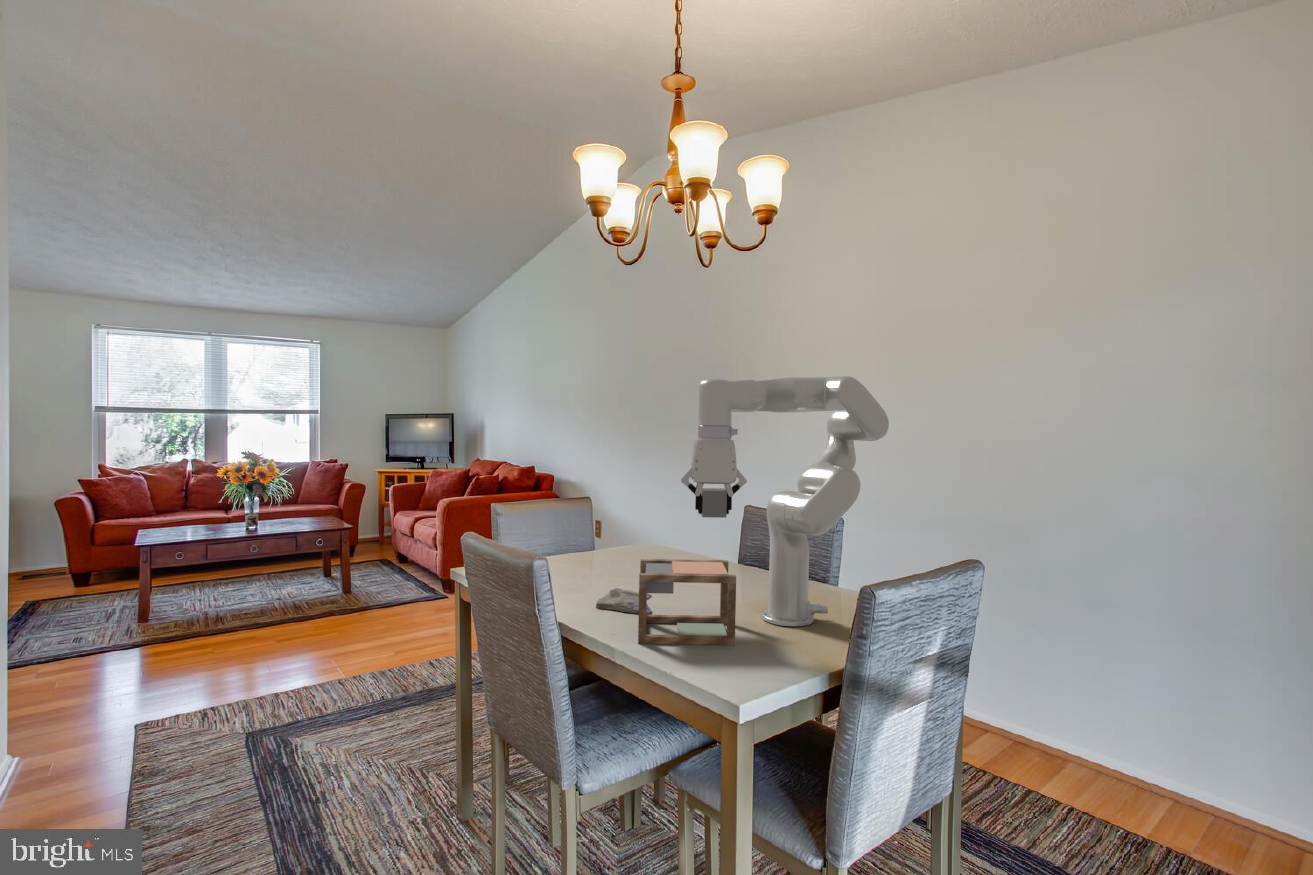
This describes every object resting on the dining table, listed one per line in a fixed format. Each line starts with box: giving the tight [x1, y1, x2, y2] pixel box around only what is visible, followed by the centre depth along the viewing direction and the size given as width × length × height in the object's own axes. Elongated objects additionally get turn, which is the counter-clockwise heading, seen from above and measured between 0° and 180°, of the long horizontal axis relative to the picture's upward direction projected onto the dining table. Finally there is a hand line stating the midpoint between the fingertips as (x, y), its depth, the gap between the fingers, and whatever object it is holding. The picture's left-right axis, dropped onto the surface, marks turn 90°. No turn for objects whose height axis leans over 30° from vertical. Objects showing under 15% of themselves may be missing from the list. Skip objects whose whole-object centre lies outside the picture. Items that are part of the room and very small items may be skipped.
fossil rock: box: [595, 587, 653, 615], centre depth 171 cm, size 18×15×2 cm
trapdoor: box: [646, 561, 729, 595], centre depth 148 cm, size 18×12×4 cm, turn 90°
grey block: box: [700, 487, 728, 519], centre depth 148 cm, size 5×5×6 cm
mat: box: [676, 623, 727, 636], centre depth 149 cm, size 11×11×1 cm
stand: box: [637, 558, 737, 646], centre depth 148 cm, size 21×16×15 cm
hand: (713, 512), depth 148 cm, fingers closed on grey block, 5 cm apart
